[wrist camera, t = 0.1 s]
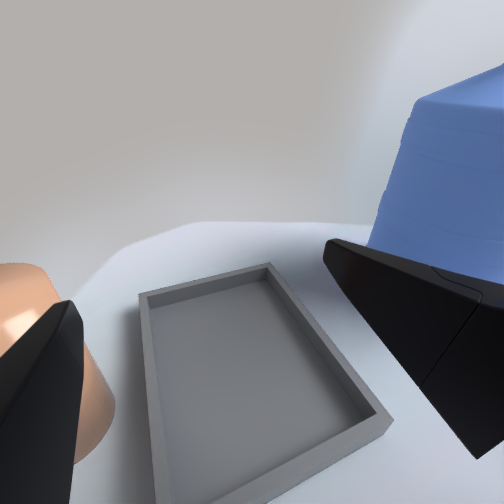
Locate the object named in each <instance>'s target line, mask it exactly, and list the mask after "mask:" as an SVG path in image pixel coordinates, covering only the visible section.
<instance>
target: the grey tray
mask: <svg viewBox="0 0 504 504" xmlns="http://www.w3.org/2000/svg"><path fill="white" fill-rule="evenodd" d="M138 295H139V307H140V319H141V331H142V344H143V356H144V368H145V380H146V392H147V404H148V416H149V428H150V440H151V452H152V464H153V476H154V488H155V500H156V504H266V503H267V502H269V501H271V500H273V499H274V498H276V497H278V496H279V495H281V494H283V493H285V492H286V491H288V490H290V489H291V488H293V487H295V486H297V485H298V484H300V483H302V482H303V481H305V480H307V479H308V478H310V477H312V476H314V475H315V474H317V473H319V472H320V471H322V470H324V469H326V468H327V467H329V466H331V465H332V464H334V463H336V462H338V461H339V460H341V459H343V458H344V457H346V456H348V455H350V454H351V453H353V452H355V451H356V450H358V449H360V448H362V447H363V446H365V445H367V444H368V443H370V442H372V441H374V440H375V439H377V438H379V437H380V436H382V435H383V434H384V433H385V432H386V430H387V429H388V428H389V426H390V425H391V424H392V422H393V421H394V419H393V418H392V417H391V415H390V414H389V413H388V412H387V410H386V409H385V408H384V406H383V405H382V404H381V403H380V401H379V400H378V399H377V398H376V396H375V395H374V394H373V392H372V391H371V390H370V389H369V387H368V386H367V385H366V384H365V382H364V381H363V380H362V378H361V377H360V376H359V375H358V373H357V372H356V371H355V370H354V368H353V367H352V366H351V365H350V363H349V362H348V361H347V359H346V358H345V357H344V356H343V354H342V353H341V352H340V351H339V349H338V348H337V347H336V345H335V344H334V343H333V342H332V340H331V339H330V338H329V337H328V335H327V334H326V333H325V331H324V330H323V329H322V328H321V326H320V325H319V324H318V323H317V321H316V320H315V319H314V317H313V316H312V315H311V314H310V312H309V311H308V310H307V309H306V307H305V306H304V305H303V303H302V302H301V301H300V300H299V298H298V297H297V296H296V295H295V293H294V292H293V291H292V289H291V288H290V287H289V286H288V284H287V283H286V282H285V281H284V279H283V278H282V277H281V276H280V274H279V273H278V272H277V270H276V269H275V268H274V267H273V265H272V264H271V263H270V262H269V263H265V264H261V265H257V266H252V267H248V268H244V269H240V270H236V271H231V272H227V273H223V274H219V275H215V276H211V277H206V278H202V279H198V280H194V281H190V282H186V283H181V284H177V285H173V286H169V287H165V288H160V289H156V290H152V291H148V292H144V293H140V294H138Z"/></svg>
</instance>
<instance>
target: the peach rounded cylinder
mask: <svg viewBox="0 0 504 504" xmlns="http://www.w3.org/2000/svg"><path fill="white" fill-rule="evenodd" d="M58 302H62V301H61V299H60V297H59V295H58V293H57V292H56V290H55V288H54V286H53V284H52V283H51V281H50V279H49V277H48V275H47V274H46V272H45V271H44V270H43V269H42V268H40V267H38V266H35V265H32V264H25V263H6V264H0V357H1V356H2V355H3V354H4V353H5V352H6V351H7V350H8V349H9V348H10V347H11V346H12V345H13V344H14V343H15V342H16V341H17V340H18V339H19V338H20V337H21V336H22V335H23V334H24V333H25V332H26V331H27V330H28V329H29V328H30V327H31V326H32V325H33V324H34V323H35V322H36V321H37V320H38V319H39V318H40V317H41V316H42V315H43V314H44V313H45V312H46V311H47V310H48V309H49V308H50V307H51V306H52V305H53V304H54V303H58ZM114 413H115V398H114V395H113V392H112V391H111V389H110V387H109V385H108V383H107V382H106V380H105V378H104V376H103V374H102V373H101V371H100V369H99V367H98V365H97V364H96V362H95V360H94V358H93V356H92V355H91V353H90V351H89V349H88V347H87V346H86V344H85V342H84V381H83V389H82V398H81V406H80V415H79V423H78V432H77V440H76V449H75V457H74V464H76V463H77V462H79V461H80V460H81V459H83V458H84V457H85V456H87V455H88V454H89V453H90V452H91V451H92V450H93V449H94V448H95V447H96V446H97V445H98V443H99V442H100V441H101V440H102V438H103V437H104V435H105V434H106V432H107V431H108V429H109V427H110V425H111V422H112V420H113V417H114Z"/></svg>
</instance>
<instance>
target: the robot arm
mask: <svg viewBox="0 0 504 504" xmlns="http://www.w3.org/2000/svg"><path fill="white" fill-rule="evenodd" d="M323 261H324V263H325V265H326V266H327V268H328V270H329V271H330V273H331V274H332V276H333V277H334V279H335V281H336V282H337V284H338V285H339V287H340V288H341V290H342V291H343V292H344V294H345V295H346V296H347V298H348V299H349V300H350V301H351V303H352V304H353V305H354V307H355V308H356V309H357V310H358V312H359V313H360V314H361V315H362V317H363V318H364V319H365V320H366V322H367V323H368V324H369V325H370V327H371V328H372V329H373V331H374V332H375V333H376V334H377V336H378V337H379V338H380V339H381V341H382V342H383V343H384V344H385V346H386V347H387V348H388V349H389V351H390V352H391V353H392V354H393V356H394V357H395V358H396V360H397V361H398V362H399V363H400V365H401V366H402V367H403V368H404V370H405V371H406V372H407V373H408V375H409V376H410V377H411V378H412V380H413V381H414V382H415V384H416V385H417V386H418V387H419V389H420V390H421V391H422V393H423V394H424V395H425V396H426V398H427V399H428V400H429V401H430V403H431V404H432V405H433V407H434V408H435V409H436V410H437V412H438V413H439V414H440V415H441V417H442V418H443V419H444V420H445V422H446V423H447V424H448V425H449V427H450V428H451V429H452V431H453V432H454V433H455V434H456V436H457V437H458V438H459V439H460V441H461V442H462V443H463V444H464V446H465V447H466V448H467V449H468V451H469V452H470V453H471V454H472V455H473V456H474V457H475V458H476V459H479V458H480V457H482V456H483V455H484V454H486V453H487V452H488V451H490V450H491V449H493V448H494V447H495V446H497V445H498V444H499V443H501V442H502V441H503V440H504V285H503V284H499V283H495V282H491V281H487V280H483V279H479V278H475V277H471V276H467V275H463V274H459V273H455V272H452V271H448V270H444V269H441V268H437V267H434V266H429V265H427V264H423V263H420V262H417V261H413V260H410V259H406V258H403V257H399V256H396V255H392V254H389V253H385V252H382V251H379V250H375V249H372V248H368V247H365V246H361V245H358V244H354V243H351V242H347V241H344V240H341V239H331V240H328V241H327V242H326V244H325V249H324V254H323ZM83 381H84V329H83V321H82V318H81V316H80V314H79V312H78V310H77V309H76V307H75V305H74V303H73V302H72V301H71V300H67V301H62V302H58V303H54V304H53V305H52V306H51V307H50V308H49V309H48V310H47V311H46V312H45V313H44V314H43V315H42V316H41V317H40V318H39V319H38V320H37V321H36V322H35V323H34V324H33V325H32V326H31V327H30V328H29V329H28V330H27V331H26V332H25V333H24V334H23V335H22V336H21V337H20V338H19V339H18V340H17V341H16V342H15V343H14V344H13V345H12V346H11V347H10V348H9V349H8V350H7V351H6V352H5V353H4V354H3V355H2V356H1V357H0V504H69V500H70V491H71V483H72V474H73V466H74V457H75V449H76V440H77V432H78V423H79V415H80V406H81V398H82V389H83Z"/></svg>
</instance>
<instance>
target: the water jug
mask: <svg viewBox="0 0 504 504" xmlns="http://www.w3.org/2000/svg"><path fill="white" fill-rule="evenodd" d="M366 247H368V248H372V249H375V250H379V251H382V252H385V253H389V254H392V255H396V256H399V257H403V258H406V259H410V260H413V261H417V262H420V263H423V264H427V265H429V266H434V267H437V268H441V269H444V270H448V271H452V272H455V273H459V274H463V275H467V276H471V277H475V278H479V279H483V280H487V281H491V282H495V283H499V284H503V285H504V63H503V64H502V65H500V66H498V67H496V68H494V69H491V70H488V71H486V72H483V73H481V74H479V75H476V76H474V77H471V78H469V79H466V80H464V81H461V82H459V83H456V84H454V85H452V86H449V87H446V88H444V89H441V90H439V91H436V92H434V93H432V94H429V95H427V96H424V97H422V98H420V99H418V100H417V101H416V102H415V104H414V107H413V109H412V112H411V116H410V118H409V119H408V121H407V123H406V126H405V129H404V132H403V135H402V139H401V145H400V148H399V151H398V154H397V158H396V160H395V163H394V166H393V169H392V173H391V175H390V178H389V181H388V184H387V188H386V190H385V191H384V193H383V196H382V198H381V202H380V204H379V208H378V214H377V217H376V220H375V224H374V226H373V229H372V232H371V235H370V238H369V241H368V244H367V246H366Z"/></svg>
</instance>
